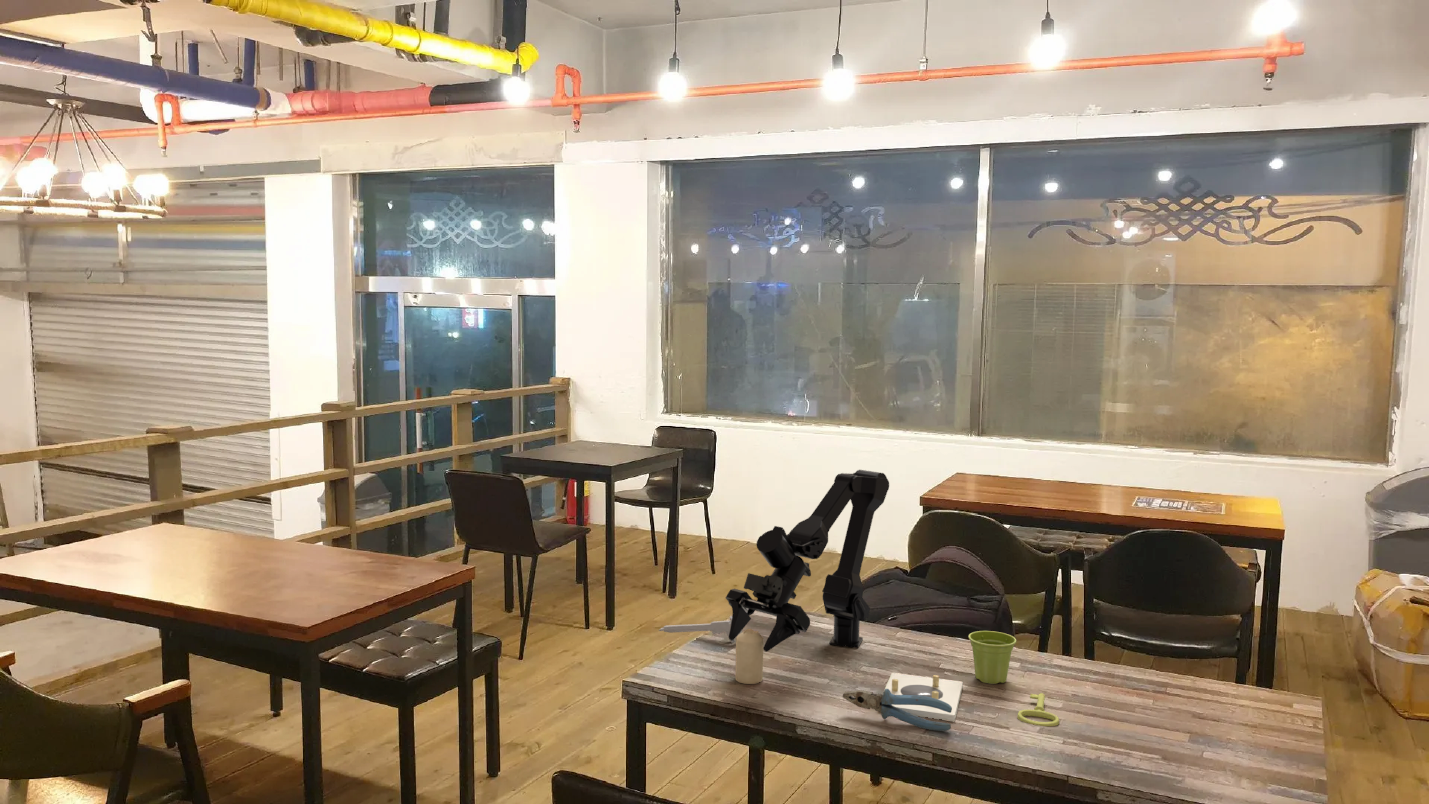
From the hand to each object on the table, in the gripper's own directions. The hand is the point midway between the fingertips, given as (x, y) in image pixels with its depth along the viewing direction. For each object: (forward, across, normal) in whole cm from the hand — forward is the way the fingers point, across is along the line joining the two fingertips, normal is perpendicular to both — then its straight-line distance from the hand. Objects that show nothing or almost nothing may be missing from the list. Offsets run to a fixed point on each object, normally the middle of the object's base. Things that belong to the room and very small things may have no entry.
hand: (747, 644), depth 203 cm
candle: (+5, 0, +6) cm, 8 cm away
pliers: (+3, +33, +8) cm, 34 cm away
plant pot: (-21, +34, +31) cm, 50 cm away
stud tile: (-7, +30, +17) cm, 35 cm away
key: (-13, +49, +24) cm, 57 cm away
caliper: (-4, -26, +15) cm, 30 cm away
